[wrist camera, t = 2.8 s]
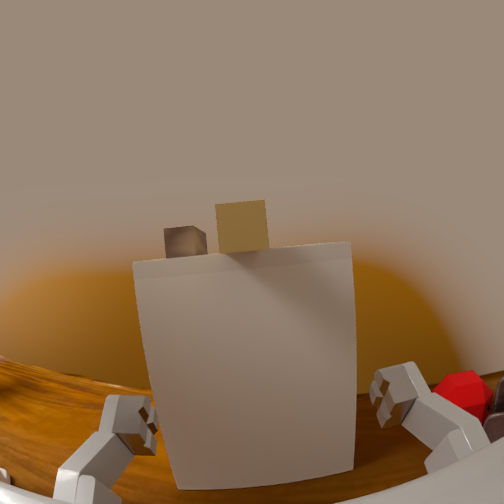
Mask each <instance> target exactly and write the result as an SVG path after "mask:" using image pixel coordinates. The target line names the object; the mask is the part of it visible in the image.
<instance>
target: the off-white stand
mask: <svg viewBox="0 0 504 504" xmlns="http://www.w3.org/2000/svg"><path fill="white" fill-rule="evenodd" d="M132 264H133V274H134V283H135V292H136V300H137V307H138V314H139V321H140V328H141V334H142V339H143V346H144V352H145V357H146V363H147V368H148V373H149V379H150V383H151V388H152V393H153V398H154V402H155V407H156V411H157V415H158V419H159V424H160V428H161V432H162V436H163V439H164V443H165V447H166V451H167V454H168V458H169V461H170V465H171V468H172V472H173V475H174V478H175V482H176V485H177V488H178V490H212V489H233V488H247V487H257V486H267V485H275V484H282V483H289V482H296V481H302V480H308V479H313V478H318V477H323V476H328V475H333V474H337V473H342V472H346V471H350V470H353V464H354V449H355V429H356V394H357V391H356V390H357V369H356V368H357V360H356V359H357V358H356V320H355V299H354V283H353V269H352V256H351V245H350V241H345V242H333V243H322V244H311V245H300V246H290V247H279V248H269V249H266V250H256V251H246V252H235V253H225V254H220V253H217V254H207V255H199V256H189V257H179V258H168V259H157V260H148V261H138V262H132Z"/></svg>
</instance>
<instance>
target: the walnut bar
mask: <svg viewBox="0 0 504 504" xmlns="http://www.w3.org/2000/svg"><path fill="white" fill-rule="evenodd" d="M164 237H165V238H164V239H165V250H166V259H168V258H179V257H189V256H199V255H207V254H208V253H207V243H206V233H204V232H203V231H201V230H199V229H198V228H196V227H194V226H185V227H176V228H166V229H164Z"/></svg>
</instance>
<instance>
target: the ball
mask: <svg viewBox="0 0 504 504" xmlns="http://www.w3.org/2000/svg"><path fill="white" fill-rule="evenodd" d="M434 392H435V393H437V394H438V395H440V396H441V397H443V398H445V399H446V400H448V401H450V402H451V403H453V404H455V405H456V406H458V407H460V408H461V409H463V410H465V411H466V412H468V413H469V414H471V415H473V416H474V417H476V418H478V420H479V421H480V423H481V425H482V424H483V422H484V421H485V420H486V418H487V417H488V416H489V413H490V412H489V409H490V408H491V403H492V398H493V392H492V391H491V389H490V388H489V387H488V386H487V385H486V383H485V382H484V381H483V380H482V379H481V378H480V377H479V376H478V375H477V374H476V373H475V372H474V371H473V370H471V371H465V372H460V373H454V374H448V375H447V376H446V377H445V378H444V379H443V380H442V381H441V382H440V383H439V384H438V385H437V386H436V387H435V388H434V389H433V390H432V393H434Z"/></svg>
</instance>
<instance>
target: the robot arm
mask: <svg viewBox="0 0 504 504" xmlns="http://www.w3.org/2000/svg"><path fill="white" fill-rule="evenodd" d="M374 378H375V380H374V381H373V382H372V383H371V385H370V388H369V395H370V400H371V403H372V405H373V406H374V407H375V408H377V409H378V412H377V414H376V416H377V418H378V421H379V424H380V426H381V429H384V428H387V427H391V426H395V425H399V424H401V425H402V426H403V427H404V428H406V429H407V430H408V431H409V432H410V433H412V434H413V435H414V436H415V437H416V438H418V439H419V440H420V441H421V442H423V443H424V444H425V445H426V446H427V447H429V448H430V449H431V450H432V451H433V452H432V453H431V454H430V455H429V456H428V457H427V458H426V459H425V461H424V464H425V466H426V469H427V472H428V474H427V475H425V476H422V477H420V478H417V479H415V480H412V481H409V482H406V483H404V484H401V485H398V486H395V487H392V488H389V489H386V490H383V491H380V492H376V493H373V494H369V495H366V496H362V497H359V498H355V499H351V500H347V501H343V502H339V503H334V504H504V437H502V438H500V439H499V440H497V441H495V442H493V443H492V444H491V443H490V441H489V439H488V437H487V435H486V433H485V431H484V429H483V427H482V425H481V423H480V421H479V420H478V418H476V417H474V416H473V415H471V414H469V413H468V412H466V411H465V410H463V409H461V408H460V407H458V406H456V405H455V404H453V403H451V402H450V401H448V400H446V399H445V398H443V397H441V396H440V395H438V394H437V393H435V392H434V393H431V391H430V389H429V387H428V386H427V384H426V382H425V380H424V378H423V376H422V374H421V373H420V371H419V369H418V367H417V365H416V364H415V363H414V362H413V361H411V362H407V363H404V364H398V365H395V366H391V367H387V368H383V369H379V370H377V371H376V372H375V374H374ZM150 403H151V400H150V399H149V397H148V396H125V395H108V396H107V398H106V400H105V404H104V409H103V413H102V417H101V422H100V427H99V431H98V432H94V433H93V434H92V435H91V436H90V437H89V438H88V439H87V440H86V441H85V442H84V443H83V444H82V445H81V447H80V448H79V449H78V450H77V451H76V452H75V453H74V454H73V455H72V456H71V457H70V458H69V459H68V460H67V461H66V462H65V463H64V464H63V465H62V466H61V467H60V468H59V470H58V474H57V479H56V484H55V489H54V494H53V498H49V497H46V496H42V495H39V494H36V493H33V492H30V491H26V490H23V489H21V488H18V487H15V486H12V485H10V476H9V475H8V473H7V472H6V470H5V469H2V468H0V504H122V499H121V498H120V497H119V496H118V495H117V494H115V493H114V492H113V491H111V490H110V489H111V488H112V487H113V485H114V484H115V483H116V481H117V480H118V478H119V477H120V476H121V474H122V473H123V472H124V470H125V469H126V467H127V466H128V465H129V463H130V462H131V461H132V459H133V458H134V455H141V456H156V445H157V440H156V439H155V437H154V436H153V435H154V434H155V433H156V432H157V431H158V416H157V412H156V410H155V408H154V407H152V406H151V405H150Z"/></svg>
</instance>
